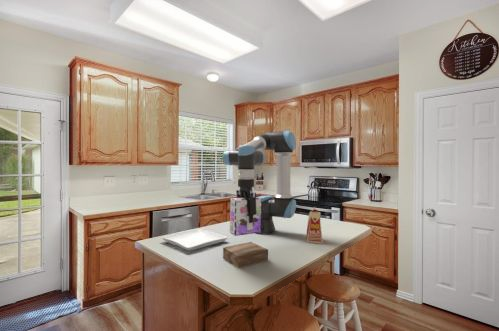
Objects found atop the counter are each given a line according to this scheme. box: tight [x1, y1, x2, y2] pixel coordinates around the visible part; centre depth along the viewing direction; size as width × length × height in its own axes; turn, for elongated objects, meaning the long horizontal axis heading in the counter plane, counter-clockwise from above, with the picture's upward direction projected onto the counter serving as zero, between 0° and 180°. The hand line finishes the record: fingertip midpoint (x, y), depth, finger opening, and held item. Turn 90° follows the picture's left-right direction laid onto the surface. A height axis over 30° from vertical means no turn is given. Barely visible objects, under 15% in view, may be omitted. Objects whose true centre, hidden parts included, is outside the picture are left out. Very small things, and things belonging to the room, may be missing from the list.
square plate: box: [160, 228, 229, 251], centre depth 149 cm, size 27×27×4 cm
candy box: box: [229, 196, 261, 237], centre depth 124 cm, size 14×6×16 cm, turn 118°
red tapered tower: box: [305, 206, 324, 244], centre depth 154 cm, size 9×9×20 cm
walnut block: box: [222, 241, 269, 269], centre depth 124 cm, size 14×16×5 cm
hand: (245, 227), depth 124 cm, fingers closed on candy box, 6 cm apart
